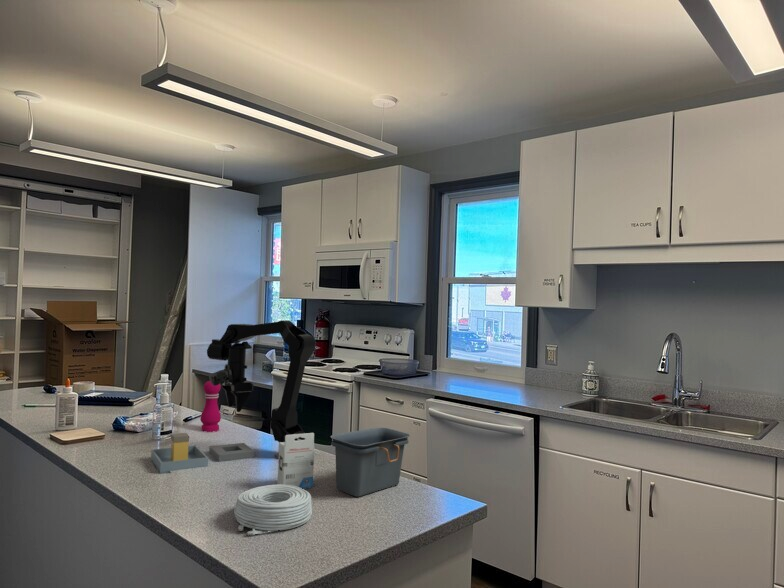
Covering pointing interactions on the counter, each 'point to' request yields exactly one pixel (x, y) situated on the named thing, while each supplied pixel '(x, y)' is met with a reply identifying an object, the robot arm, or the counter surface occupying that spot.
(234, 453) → the grey square socket tray
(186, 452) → the block
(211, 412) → the pepper mill
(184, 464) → the parts tray
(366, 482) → the storage bin
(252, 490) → the cable
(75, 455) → the counter surface
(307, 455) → the ink box
